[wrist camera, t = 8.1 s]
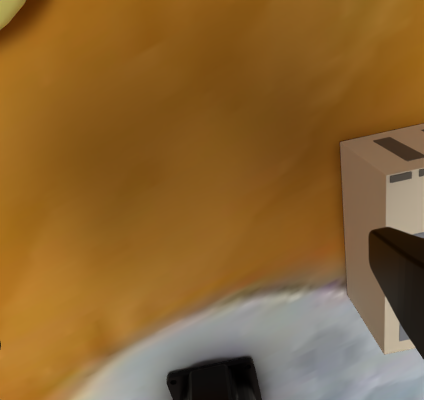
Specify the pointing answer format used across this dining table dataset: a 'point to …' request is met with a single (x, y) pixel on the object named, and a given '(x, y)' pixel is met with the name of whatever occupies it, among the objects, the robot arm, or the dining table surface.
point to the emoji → (9, 10)
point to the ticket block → (380, 217)
